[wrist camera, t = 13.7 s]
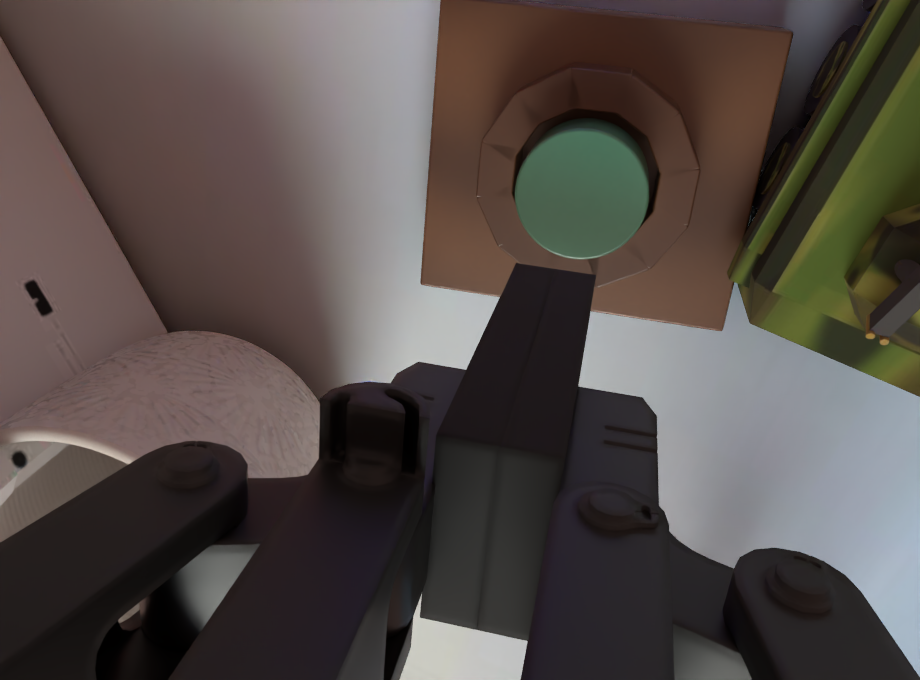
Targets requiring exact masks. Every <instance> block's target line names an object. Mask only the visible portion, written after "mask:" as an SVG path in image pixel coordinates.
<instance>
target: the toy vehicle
mask: <svg viewBox="0 0 920 680" xmlns="http://www.w3.org/2000/svg"><path fill="white" fill-rule="evenodd" d="M862 6H863V9H865V10H867V11H869V12H870V14H869V16H868V18H867V19H866V21H865V23H864V25H863V26H862V27H861V26H858V25H852V26H851V27H849V28H848V29H847V30H846V31H845V32H844V33H843V34H842V35H841V37H840V38H839V39H838V40H837V42H836V43H835V45H834V46H833V47H832V49H831V50H830V52H829V54H828V55H827V57H826V58H825V60H824V62H823V64H822V65H821V67H820V69H819V71H818V73H817V75H816V77H815V79H814V81H813V83H812V86H811V88H810V90H809V93H808V96H807V99H806V103H805V112H806V113H807V114H809V115H811V118H810V120H809V122H808V124H807V125H806V127H805V129H804V130H803V129H800V128H798V127H794V128H793V129H791V130H790V131H789V132H788V133H787V134H786V135H785V136H784V138H783V139H782V140H781V142H780V143H779V144H778V146H777V147H776V149H775V151H774V152H773V154H772V156H771V157H770V159H769V161H768V163H767V165H766V166H765V168H764V171H763V173H762V175H761V177H760V179H759V182H758V185H757V189H756V193H755V197H754V201H753V207H754V208H755V209H757V210H758V212H757V214H756V215H755V217H754V219H753V221H752V222H751V224H750V226H749V228H748V229H747V231H746V233H745V235H744V236H743V238H742V240H741V242H740V245H739V247H738V249H737V251H736V253H735V256H734V258H733V260H732V262H731V264H730V267H729V269H728V271H727V274H728V277H729V280H731V281H733V282H735V283H738V287H739V290H740V293H741V297H742V300H743V303H744V306H745V309H746V313H747V316H748V319H749V322H750V324H753V325H755V326H757V327H760V328H762V329H764V330H767V331H769V332H771V333H774V334H776V335H778V336H780V337H783V338H785V339H787V340H790V341H792V342H794V343H797V344H799V345H801V346H804V347H806V348H808V349H811V350H813V351H815V352H817V353H820V354H822V355H824V356H827V357H829V358H831V359H834V360H836V361H838V362H841V363H843V364H845V365H848V366H850V367H852V368H855V369H857V370H859V371H861V372H864V373H866V374H868V375H871V376H873V377H875V378H878V379H880V380H882V381H885V382H887V383H889V384H892V385H894V386H896V387H898V388H901V389H903V390H905V391H908V392H910V393H912V394H915V395H917V396H919V397H920V0H863V5H862Z"/></svg>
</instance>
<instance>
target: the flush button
mask: <svg viewBox="0 0 920 680" xmlns="http://www.w3.org/2000/svg"><path fill="white" fill-rule="evenodd" d="M648 203H649V172H648V166H647V162H646V159H645V156H644V154H643V152H642V150H641V148H640V147H639V145H638V144H637V142H636V141H635V140H634V139H633V138H632V137H631V136H630V135H629V134H628V133H627V132H626V131H625V130H623V129H622V128H620V127H619V126H617V125H615V124H613V123H610V122H607V121H604V120H600V119H595V118H579V119H573V120H569V121H566V122H563V123H561V124H559V125H557V126H555V127H553V128H552V129H550V130H549V131H547V132H546V133H545V134H544V135H543V136H542V137H541V138H540V139H539V140H538V141H537V142H536V143H535V145H534V146H533V148H532V149H531V151H530V153H529V154H528V156H527V157H526V159H525V160H524V162H523V164H522V166H521V168H520V170H519V173H518V176H517V180H516V185H515V204H516V209H517V213H518V216H519V218H520V221H521V223H522V225H523V227H524V228H525V230H526V231H527V233H528V234H529V235H530V236H531V237H532V239H533V240H534V241H535V242H537V243H538V244H539V245H540V246H541V247H543V248H544V249H546V250H547V251H549V252H552V253H554V254H556V255H559V256H562V257H565V258H570V259H593V258H598V257H601V256H605V255H607V254H609V253H612V252H614V251H615V250H617V249H619V248H620V247H622V246H623V245H624V244H625V243H627V242H628V241H629V240H630V239H631V238H632V237H633V236H634V234H635V233H636V232H637V230H638V229H639V227H640V225H641V224H642V222H643V220H644V217H645V215H646V212H647V208H648Z"/></svg>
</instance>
